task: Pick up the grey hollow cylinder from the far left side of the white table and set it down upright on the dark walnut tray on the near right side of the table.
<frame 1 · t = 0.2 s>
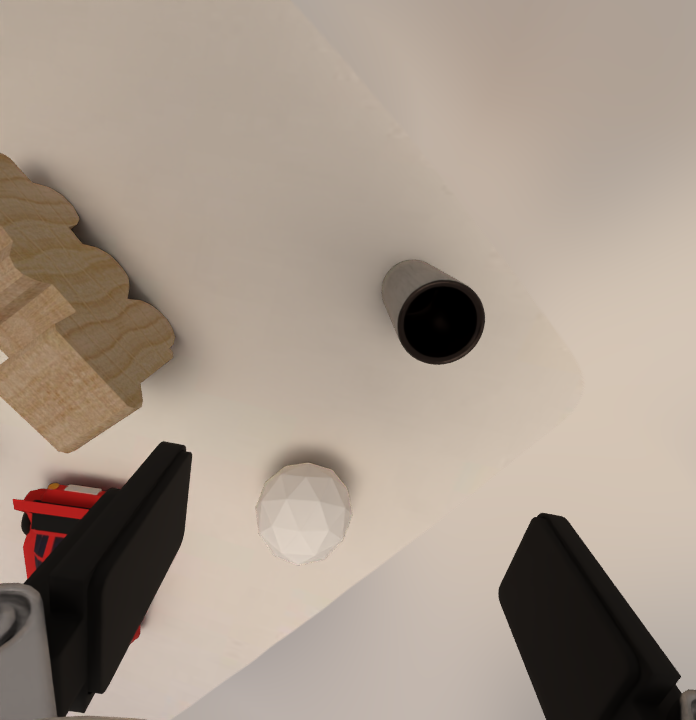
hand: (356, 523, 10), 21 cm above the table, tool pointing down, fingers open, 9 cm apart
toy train: (97, 285, 30), on the table
geometric ball: (308, 480, 36), on the table
grey hollow cylinder: (410, 289, 30), on the table
toy car: (102, 556, 39), on the table
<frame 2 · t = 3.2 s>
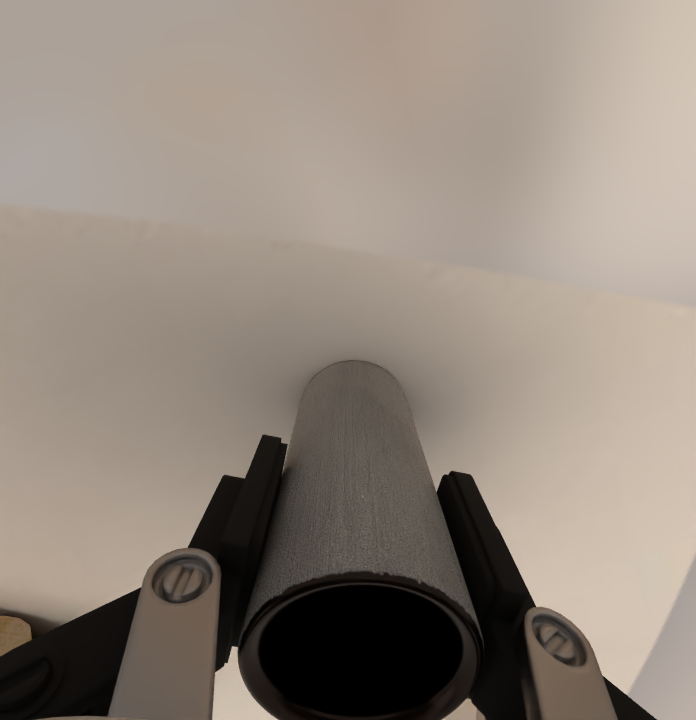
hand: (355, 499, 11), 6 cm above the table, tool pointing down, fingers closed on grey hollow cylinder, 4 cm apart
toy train: (19, 642, 22), on the table
geometric ball: (426, 690, 23), on the table
grey hollow cylinder: (353, 406, 17), on the table, touching gripper
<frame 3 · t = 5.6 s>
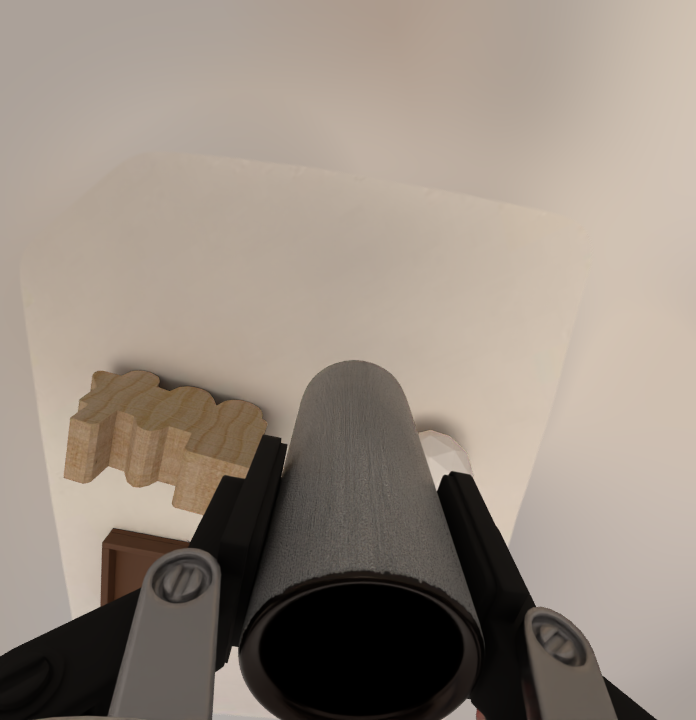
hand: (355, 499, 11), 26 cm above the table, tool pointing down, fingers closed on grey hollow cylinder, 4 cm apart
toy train: (196, 410, 40), on the table
geometric ball: (422, 449, 41), on the table
grey hollow cylinder: (353, 406, 17), point 20 cm above the table, touching gripper
tray: (155, 579, 47), on the table
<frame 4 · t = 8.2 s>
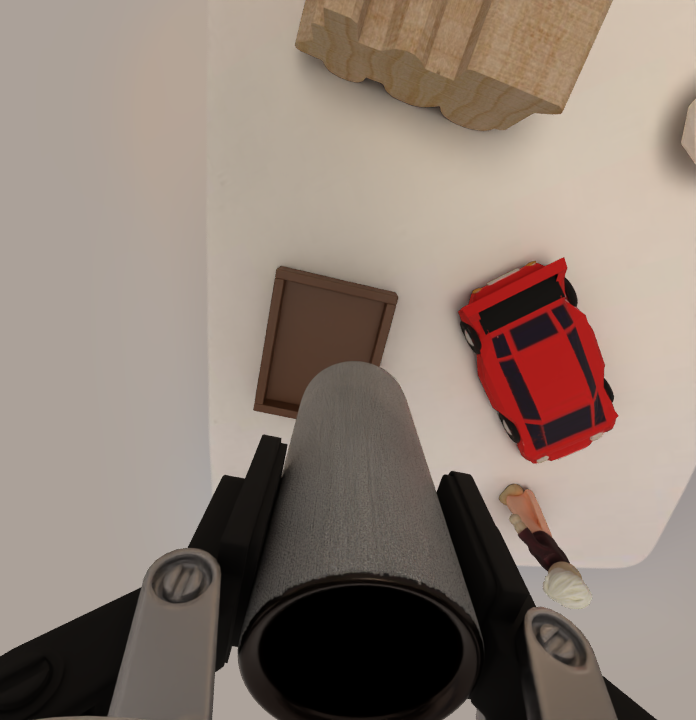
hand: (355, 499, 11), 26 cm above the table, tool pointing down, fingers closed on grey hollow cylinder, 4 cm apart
grandmother figurine: (514, 495, 43), on the table
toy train: (417, 64, 30), on the table
grey hollow cylinder: (353, 407, 17), point 20 cm above the table, touching gripper
tray: (323, 349, 37), on the table
toy car: (531, 364, 38), on the table
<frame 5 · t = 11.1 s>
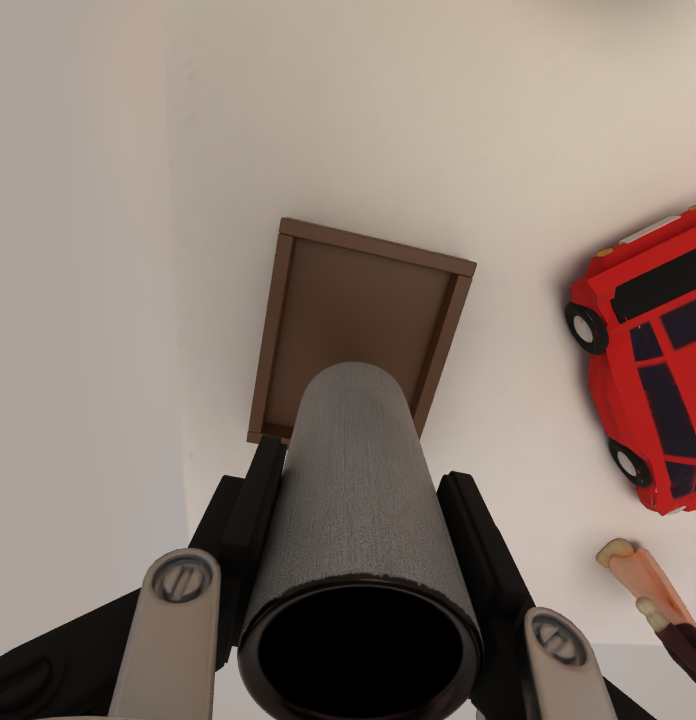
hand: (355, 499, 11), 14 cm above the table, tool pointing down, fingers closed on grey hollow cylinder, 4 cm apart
grandmother figurine: (617, 554, 30), on the table
grey hollow cylinder: (353, 407, 17), point 8 cm above the table, touching gripper
tray: (352, 348, 25), on the table
toy car: (662, 369, 25), on the table
when the fingers open (6 cm above the table, at t = 13.2 s): grey hollow cylinder stays where it is, resting on tray.
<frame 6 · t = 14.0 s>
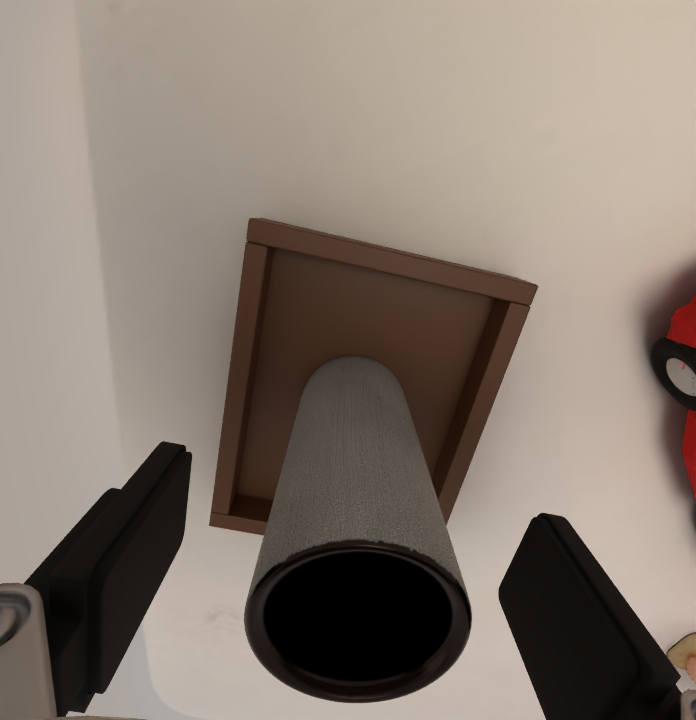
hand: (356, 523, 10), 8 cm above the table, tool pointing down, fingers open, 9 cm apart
grandmother figurine: (693, 649, 24), on the table
grey hollow cylinder: (352, 400, 18), resting on tray
tray: (354, 397, 18), on the table
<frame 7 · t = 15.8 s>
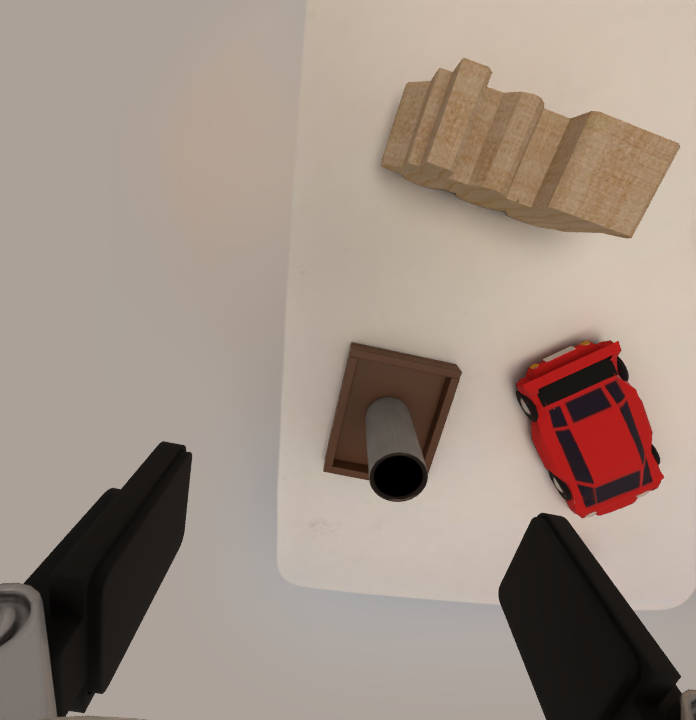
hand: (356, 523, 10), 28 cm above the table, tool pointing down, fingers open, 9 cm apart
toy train: (483, 170, 33), on the table
grey hollow cylinder: (387, 415, 40), resting on tray
tray: (387, 414, 40), on the table
toy car: (579, 426, 41), on the table
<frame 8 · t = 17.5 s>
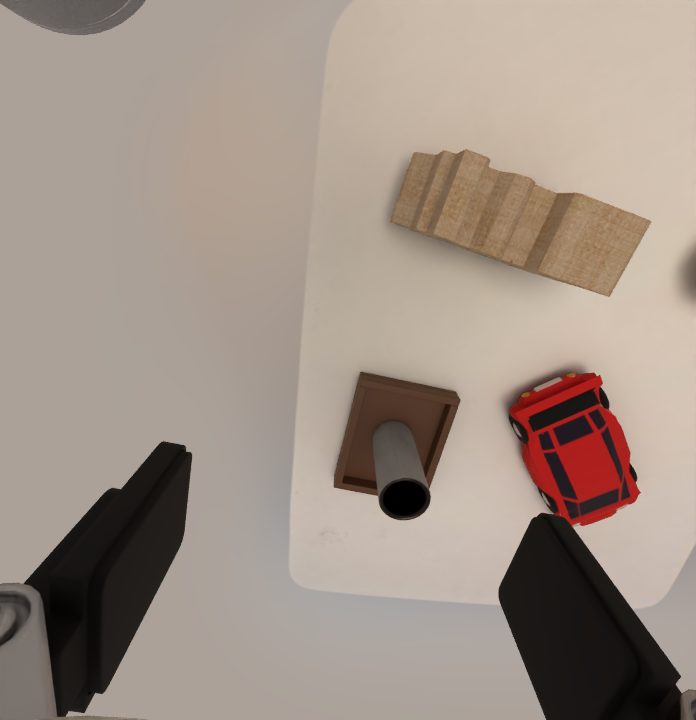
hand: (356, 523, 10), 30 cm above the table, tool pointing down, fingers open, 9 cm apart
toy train: (481, 221, 37), on the table
grey hollow cylinder: (392, 436, 44), resting on tray
tray: (392, 435, 44), on the table
toy car: (566, 446, 45), on the table
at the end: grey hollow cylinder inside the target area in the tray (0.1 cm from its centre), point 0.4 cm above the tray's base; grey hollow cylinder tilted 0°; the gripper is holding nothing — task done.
